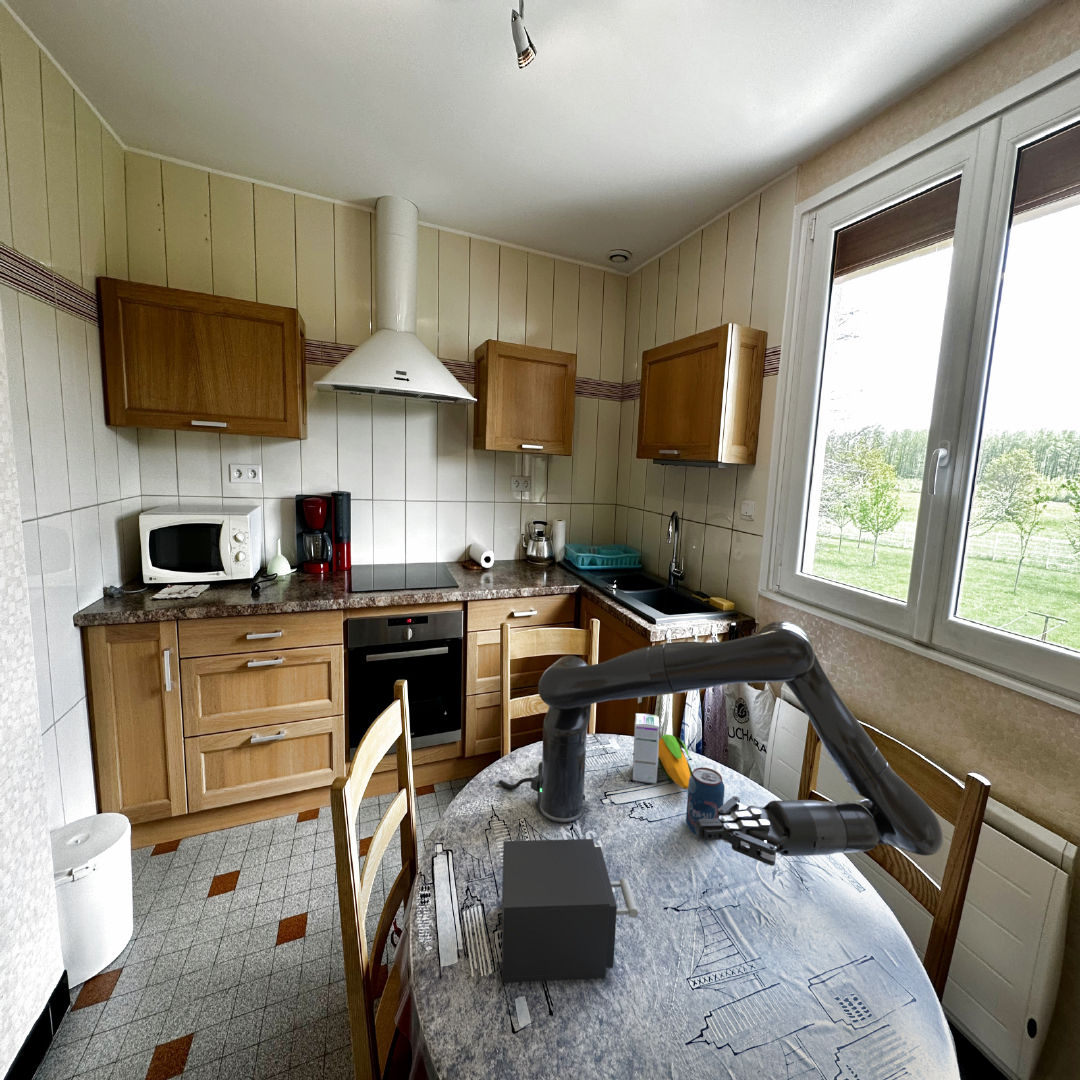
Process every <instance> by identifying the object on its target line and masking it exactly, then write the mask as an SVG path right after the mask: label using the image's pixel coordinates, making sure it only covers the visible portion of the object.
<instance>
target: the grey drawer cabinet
mask: <svg viewBox="0 0 1080 1080" xmlns="http://www.w3.org/2000/svg"><path fill="white" fill-rule="evenodd" d="M502 847H503V848H502V849H503V850H502V852H503V853H502V884H501V885H502V887H501V888H502V889H501V983H502V984H508V983H509V984H510V983H530V982H531V983H533V982H551V981H552V982H553V981H574V980H593V979H595V980H596V979H606V977H607V968H606V960H607V943H608V925H609V908H610V903H609V899H608V895H607V891H606V887H605V883H604V879H603V876H602V872H601V868H600V864H599V860H598V856H597V852H596V848H595V847H596V843H595V841H594V838H575V839H572V838H571V839H537V840H536V839H535V840H504V841H503V845H502Z"/></svg>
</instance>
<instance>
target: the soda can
mask: <svg viewBox="0 0 1080 1080" xmlns="http://www.w3.org/2000/svg"><path fill="white" fill-rule="evenodd" d="M725 787H726V786H725V784H724V781H723V776H722V775H721V773H720V772H718V771H716V770H715V769H712V768H709V767H703V766H702V767H697V768H694V769H693V770H692V775H691V776H690V778H689V786H688V789H687V800H686V813H685V823H686V826H687V828H688V829H689V831H690V832H691V834H692V835H694V836H695V837H697V838H699V837H698V835H697V834H696V832H695V823H696V821H697V820H699V819H716V818H717V816H718V809H719V808H720V807H721V806H722V805H723V804H724V802H725V801H724V800H725V799H724V798H725V790H726V789H725Z"/></svg>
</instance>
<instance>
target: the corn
mask: <svg viewBox="0 0 1080 1080" xmlns="http://www.w3.org/2000/svg"><path fill="white" fill-rule="evenodd" d="M683 749H684V750H683ZM688 750H689V749H688V748H687V746H686V744H685V743H684V742H683V741H682V739H681V738H680V737H679V736H676V735H672V734H667V733H666V734H663V735H661V737H660V738H659V749H658V765H659V766H660V768H661V770H662V772H663V773H664V775H665V777H666V778H667V779H668V781H670V782H674V784H676V785H677V786H679V787H680V788H682V789H683V790H688V786H689V778H690V776H691V775H692V773H693V770H692V768H691V766H690V764H689V762H688V760H687V758H686V756H687V757H688V758H689V760H690V756H689V751H688ZM684 751H685V753H686V756H685V753H684Z"/></svg>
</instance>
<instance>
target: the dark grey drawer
mask: <svg viewBox="0 0 1080 1080" xmlns="http://www.w3.org/2000/svg"><path fill="white" fill-rule="evenodd" d="M595 848H596V852H597V856H598V860H599V864H600V868H601V872H602V876H603V879H604V883H605V887H606V891H607V895H608V899H609V903H610V908H609V925H608V943H607V960H606V969H613V968H614V962H615V942H616V929H617V928H616V927H617V916H618V915H620V916H621V915H628V916H629V917H630V918H631V919H635V918H637V917H638V916H639V909H638V907H637V904H636V899H635V897H634V894H633V891H632V887H631V884H630V881H629V879H628V878H627V877H622V878H620V879H619V880H617V881H616V880H615V881H614V880H613V881H611V880H610V876H609V872H608V869H607V865H606V860H605V857H604V853H603V850H602V847H601V846H595ZM613 888H620V889H621V893H622V896H623V900H624V904H625V907H618V906H617V905H618V904H617V901H616V897H615V894H614V891H613Z"/></svg>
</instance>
